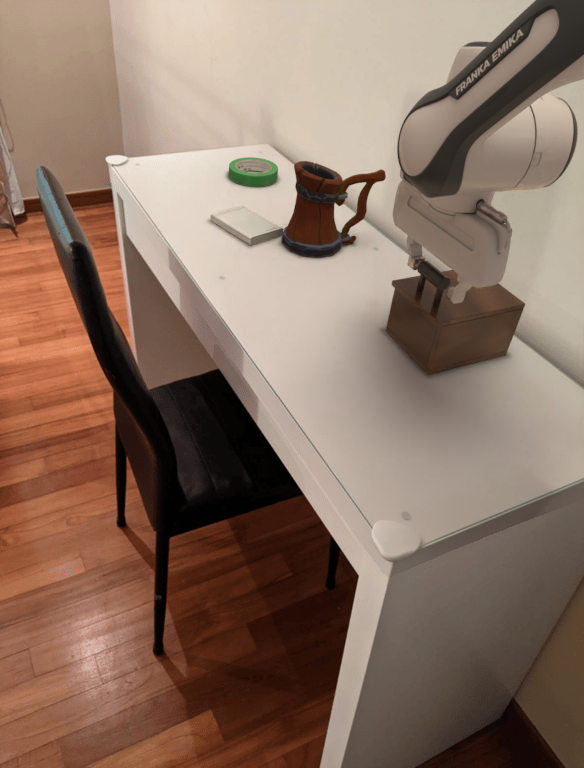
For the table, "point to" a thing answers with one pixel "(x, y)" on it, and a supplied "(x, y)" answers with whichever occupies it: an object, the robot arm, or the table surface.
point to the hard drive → (246, 225)
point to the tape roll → (253, 179)
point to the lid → (435, 305)
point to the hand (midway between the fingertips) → (433, 283)
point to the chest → (449, 336)
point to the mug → (323, 209)
